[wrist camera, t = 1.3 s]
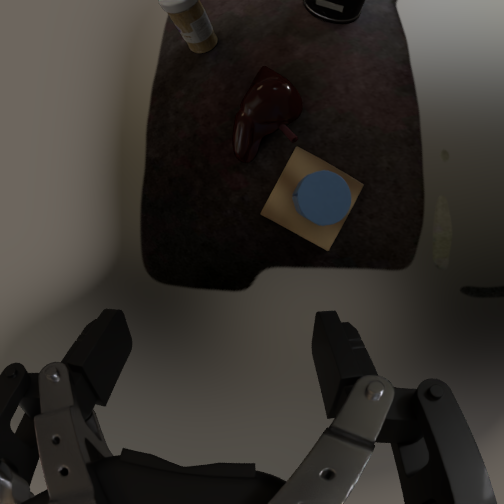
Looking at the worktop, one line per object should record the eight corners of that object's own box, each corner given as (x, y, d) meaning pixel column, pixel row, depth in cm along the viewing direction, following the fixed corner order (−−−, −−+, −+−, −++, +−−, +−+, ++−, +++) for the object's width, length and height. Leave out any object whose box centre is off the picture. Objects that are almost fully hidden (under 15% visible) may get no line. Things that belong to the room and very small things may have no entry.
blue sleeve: (304, 170, 33) (313, 160, 24) (340, 191, 33) (360, 188, 24) (285, 206, 34) (288, 208, 25) (321, 226, 34) (335, 235, 25)
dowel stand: (296, 147, 34) (301, 130, 24) (361, 185, 33) (386, 180, 24) (260, 213, 36) (254, 218, 27) (326, 249, 36) (341, 266, 27)
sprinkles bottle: (183, 46, 32) (149, -1, 19) (205, 28, 31) (179, -22, 18) (202, 59, 32) (171, 9, 19) (224, 40, 31) (202, -13, 18)
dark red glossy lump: (284, 84, 34) (326, 117, 29) (225, 135, 38) (254, 178, 34) (260, 56, 29) (304, 84, 24) (196, 113, 33) (221, 155, 28)
